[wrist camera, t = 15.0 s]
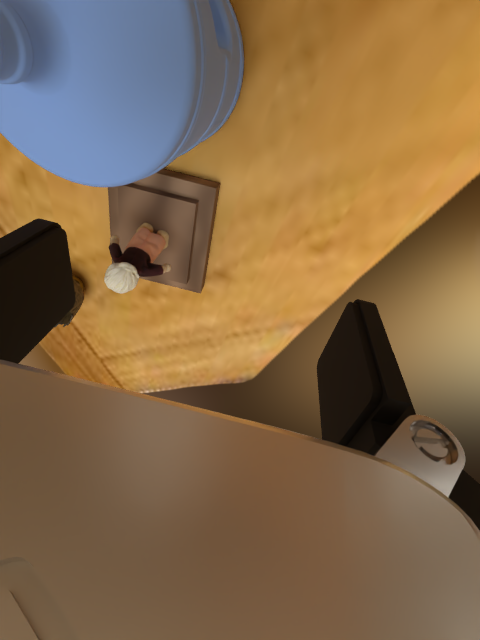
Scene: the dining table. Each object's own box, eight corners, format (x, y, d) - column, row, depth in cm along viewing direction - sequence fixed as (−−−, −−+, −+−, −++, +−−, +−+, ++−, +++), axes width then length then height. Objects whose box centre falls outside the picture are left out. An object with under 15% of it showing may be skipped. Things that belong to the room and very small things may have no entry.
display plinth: (220, 183, 41) (214, 191, 38) (204, 285, 51) (198, 298, 48) (115, 156, 41) (100, 162, 38) (119, 263, 51) (108, 275, 48)
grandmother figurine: (128, 241, 44) (79, 289, 34) (130, 215, 41) (77, 258, 31) (182, 258, 44) (149, 310, 34) (186, 233, 42) (152, 281, 32)
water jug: (226, 161, 40) (138, 265, 18) (103, 120, 39) (-151, 174, 17) (265, -12, 30) (180, -261, 8) (103, -72, 29) (-495, -539, 7)
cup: (64, 300, 57) (35, 327, 51) (46, 263, 53) (13, 288, 46) (102, 301, 56) (78, 329, 50) (87, 263, 52) (58, 288, 45)
